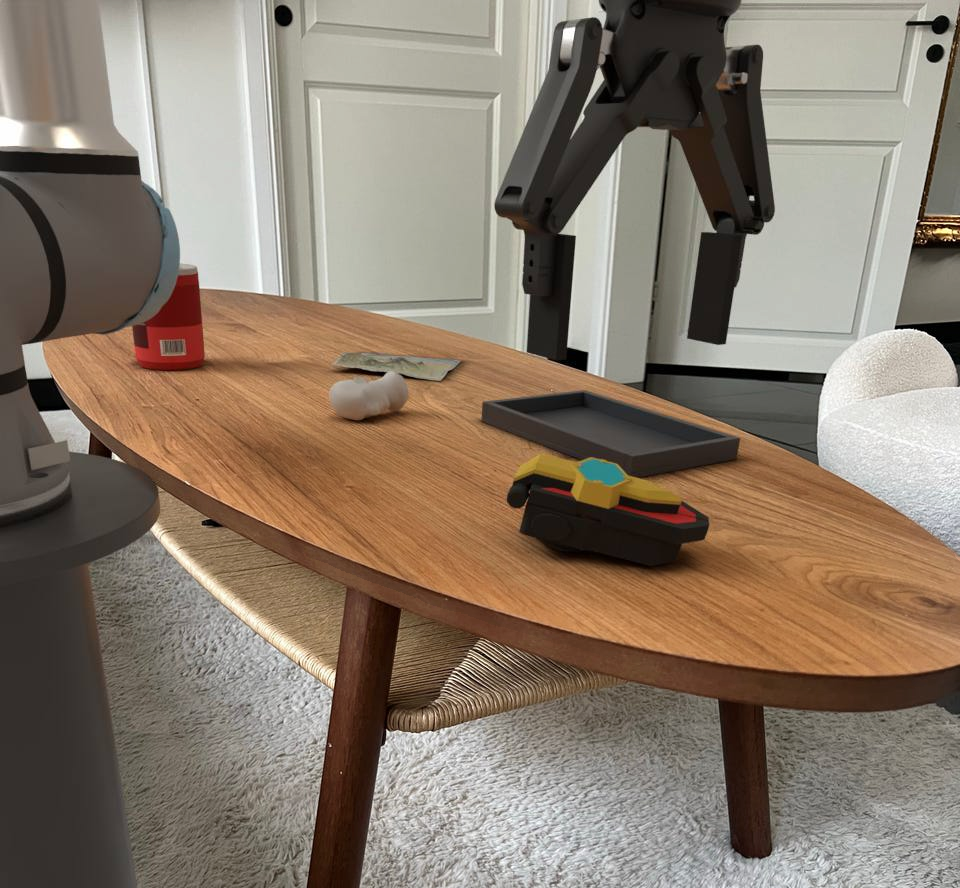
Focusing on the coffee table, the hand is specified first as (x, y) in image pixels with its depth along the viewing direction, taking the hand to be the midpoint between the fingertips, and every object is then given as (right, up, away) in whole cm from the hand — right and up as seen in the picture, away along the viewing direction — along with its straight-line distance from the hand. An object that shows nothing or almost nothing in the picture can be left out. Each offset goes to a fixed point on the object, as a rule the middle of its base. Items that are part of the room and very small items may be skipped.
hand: (631, 349), depth 58 cm
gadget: (-1, -12, +6) cm, 14 cm away
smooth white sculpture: (-20, +4, +36) cm, 42 cm away
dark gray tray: (+3, +1, +32) cm, 33 cm away
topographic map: (-20, +16, +60) cm, 65 cm away
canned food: (-46, +15, +54) cm, 73 cm away
